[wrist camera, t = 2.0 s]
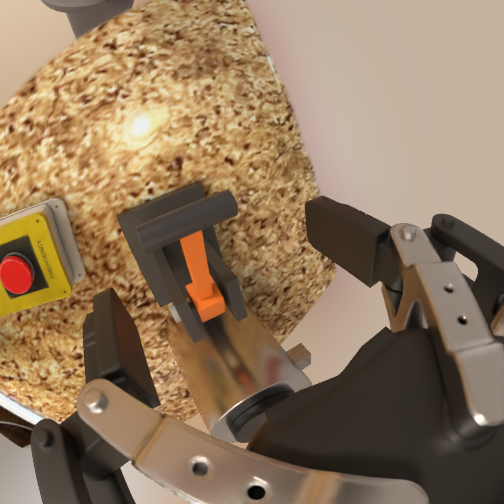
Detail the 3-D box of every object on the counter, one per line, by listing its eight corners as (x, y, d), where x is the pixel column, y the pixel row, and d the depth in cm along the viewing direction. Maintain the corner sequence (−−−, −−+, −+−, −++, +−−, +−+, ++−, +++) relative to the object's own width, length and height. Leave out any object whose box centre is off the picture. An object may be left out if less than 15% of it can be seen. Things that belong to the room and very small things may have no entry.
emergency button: (87, 300, 22) (-19, 331, 16) (88, 276, 25) (-11, 307, 19) (55, 209, 17) (-59, 257, 11) (63, 195, 21) (-43, 237, 15)
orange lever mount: (116, 214, 24) (125, 278, 15) (197, 181, 27) (252, 222, 18) (158, 301, 31) (188, 376, 22) (223, 270, 34) (273, 332, 25)
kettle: (150, 311, 31) (200, 434, 18) (249, 265, 36) (338, 355, 23) (188, 369, 39) (236, 461, 26) (264, 330, 44) (328, 407, 31)
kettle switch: (130, 214, 12) (143, 250, 11) (221, 178, 14) (243, 208, 13) (176, 306, 23) (187, 330, 21) (227, 282, 24) (240, 304, 23)
